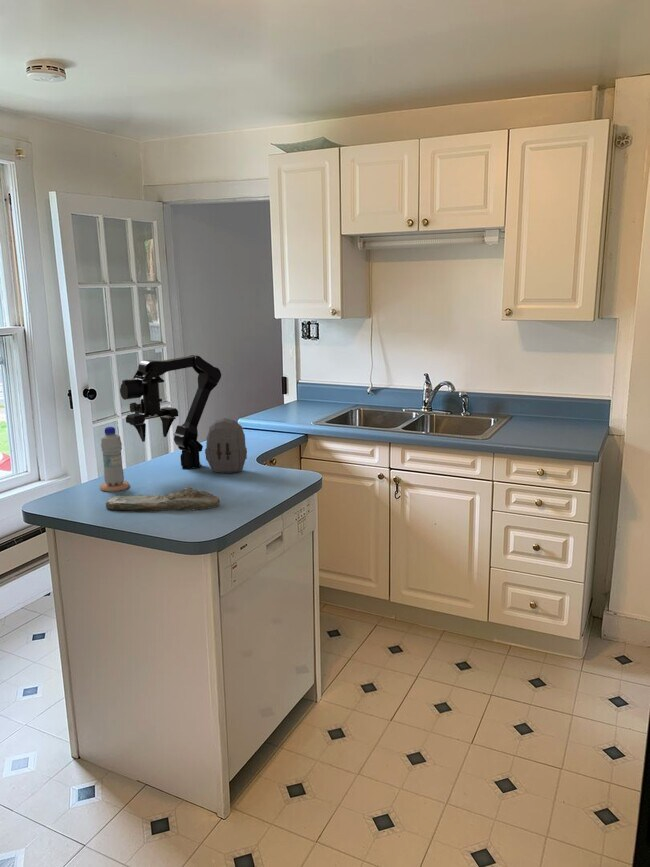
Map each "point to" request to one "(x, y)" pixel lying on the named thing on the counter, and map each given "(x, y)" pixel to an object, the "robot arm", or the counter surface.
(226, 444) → the soft grey pack
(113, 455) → the bottle
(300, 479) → the counter surface
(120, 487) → the peach round piece
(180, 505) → the long grey stone
